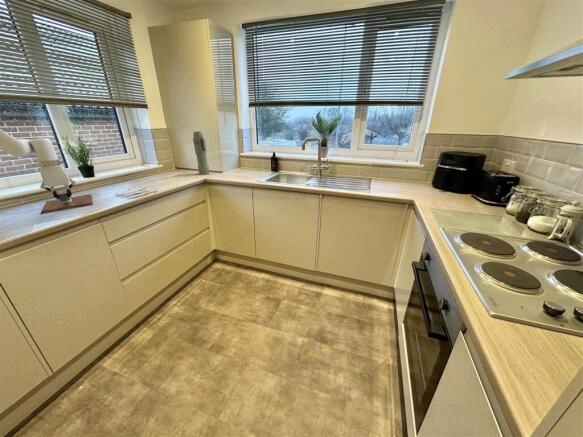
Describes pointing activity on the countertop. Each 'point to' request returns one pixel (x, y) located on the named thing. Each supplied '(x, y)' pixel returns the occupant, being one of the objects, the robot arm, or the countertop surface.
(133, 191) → the knife set
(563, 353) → the countertop surface
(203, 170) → the grey statue
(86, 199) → the board
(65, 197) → the black stone
